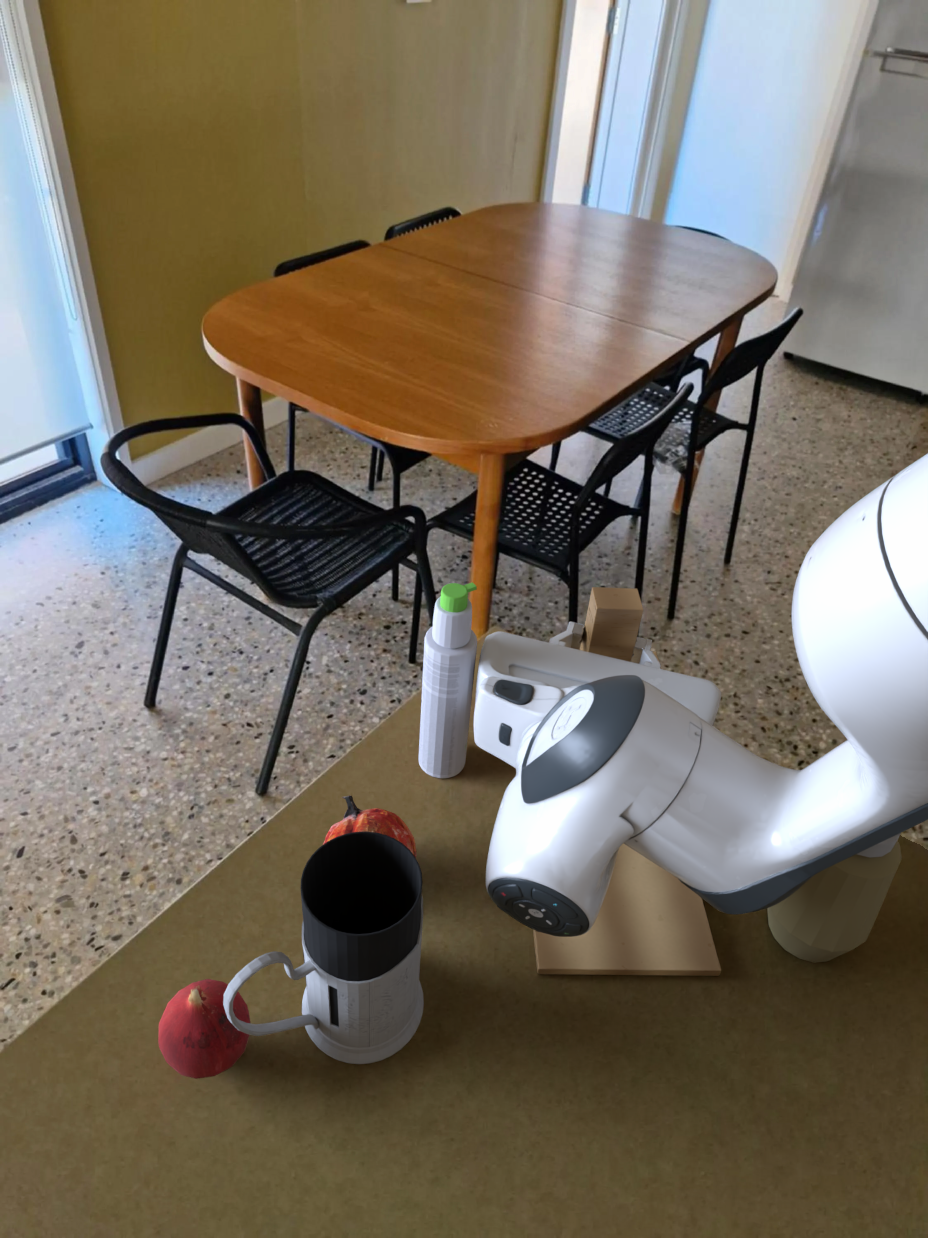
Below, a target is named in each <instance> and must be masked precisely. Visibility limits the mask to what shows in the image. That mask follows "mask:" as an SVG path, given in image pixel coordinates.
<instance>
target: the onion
mask: <svg viewBox="0 0 928 1238" xmlns="http://www.w3.org/2000/svg"><path fill="white" fill-rule="evenodd" d="M228 984H229V983H226V982H224V981H221V980H216V979H211V978H204V979H201V980H198V981H197V980H196V981H193V982H191V983H190V984H188V985H186V986H185V987H183V988H181V989H180V990H178V991H177V992H176V993H175V994H174V995H173V996H172V998H171V999H170V1000H169V1001H168V1002H167V1004H166V1006H165V1008H164V1010H163V1013H162V1015H161V1018H160V1020H159V1022H158V1038H157V1039H158V1041H157V1043H158V1048H159V1051H160V1052H161V1054H162V1056H163V1058H164V1061H165V1063H166V1064H168V1065H169V1066H170V1067H171V1068H172V1069H173V1070H174V1071H175V1072H177V1073H178V1074H179V1075H180V1076H183V1077H188V1078H191V1079H196V1080H198V1079H205V1078H213V1077H216V1076H217V1075H219V1074H221V1073H223V1072H225V1071H227V1070H229V1069H230V1068H232V1067H233V1066H234V1065H235V1064H236V1062H237V1061H238V1060H239V1059H240V1058H241V1057H242V1055H243V1054H244V1053H245V1052H246V1048H247V1045H248V1042H249V1038H250V1035H249V1034H246V1033H244V1032H241V1031H239V1030H238V1029H237V1028H236V1027H235V1026H234V1025H233V1024H232V1023H231V1022H230V1021H229V1019H228V1018H227V1015H226V1012H225V1009H224V1005H223V1001H224V993H225V991H226V989H227V986H228ZM233 1012H234V1014H235V1017H236V1018H238V1019H239V1020H241V1021H243V1022H246V1023H251V1024H252V1022H251V1017H250V1011H249V1007H248V1004H247V1003H246V1001H245V1000H244V998H243V997H242V995H241V993H240V992H239V990H238V991H237V993H236V996H235V998H234V1000H233Z"/></svg>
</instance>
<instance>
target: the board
mask: <svg viewBox="0 0 928 1238" xmlns="http://www.w3.org/2000/svg"><path fill="white" fill-rule="evenodd" d="M532 933H533V944H534V945H533V946H534V953H535V954H534V955H535V964H536V965H535V967H536V973H537V975H582V976H583V975H588V976H589V975H590V976H591V975H594V976H595V975H597V976H599V975H600V976H601V975H602V976H691V977H692V976H693V977H694V976H697V977H698V976H700V977H701V976H702V977H703V976H705V977H709V976H710V977H712V976H714V977H718V976H720V975H721V972H722V967H721V964H720V960H719V956H718V953H717V949H716V945H715V942H714V938H713V934H712V931H711V926H710V923H709V919H708V916H707V911H706V908H705V905H704V899H702V898H701V897H700V896H698V895H697V894H696V893H695V892H693V891H692V890H691V889H689V888H688V887H687V886H685V885H684V884H683V883H681V881H680V880H679V879H678V878H676V877H675V876H673V875H672V874H670V873H669V872H667V871H665V870H664V869H662V868H661V867H659V866H658V865H656V864H655V863H653V862H651V861H650V860H648V859H647V858H645V857H644V856H642V855H641V854H639V853H637V852H636V851H634V850H633V849H631V848H630V847H628V846H627V845H625V844H622V845H621V846H620V847H619V850H618V854H617V858H616V862H615V866H614V870H613V873H612V877H611V880H610V883H609V886H608V889H607V893H606V895H605V898H604V901H603V904H602V906H601V909H600V911H599V914H598V916H597V918H596V920H595V922H594V924H593V926H592V927H591V929H590V930H589V931H588V932H587V933H585V934H583V935H579V936H573V937H558V936H552V935H549V934H545V933H542V932H537V931H535V930H533V929H532Z"/></svg>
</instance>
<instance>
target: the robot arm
mask: <svg viewBox="0 0 928 1238" xmlns="http://www.w3.org/2000/svg"><path fill="white" fill-rule="evenodd" d="M791 600H792V601H791V628H792V637H793V643H794V649H795V652H796V657H797V660H798V663H799V667H800V670H801V672H802V675H803V677H804V679H805V681H806V684H807V686H808V689H809V690H810V692H811V695H812V696H813V699H814V700H815V701H816V703H817V705H818V706H819V707H820V708H821V710H822V711H823V712H824V713H825V715H826V716H827V718H828V719H829V720H830V721H831V722H832V723H833V725H835V727H836V728H837V729H838V730H839V731H840V732H841V734H842V735H843V736H844V737H845V738H846V740H845V741H844V742H842V743H841V744H839V745H838V746H836V747H834V748H833V749H831V750H829V751H828V752H827V753H825V754H823V755H822V756H820V757H819V758H817V759H816V760H815V761H813V762H811V763H809V764H808V765H807V766H805V767H804V768H803V769H794V768H789V767H786V766H783V765H780V764H778V763H774V762H772V761H770V760H767V759H765V758H763V757H761V756H759V754H756V753H754V752H752V751H751V750H749V749H748V748H746V747H745V746H743V745H742V744H740V743H739V742H737V740H735V739H733V738H732V737H730V736H729V735H727V734H726V733H724V732H723V731H721V730H719V728H716V726H714V725H715V722H716V719H717V715H718V712H719V708H720V705H721V700H722V691H721V689H720V688H719V687H718V686H717V685H716V683H714V682H713V681H712V680H709V679H705V678H701V677H697V676H693V675H688V674H683V673H680V672H675V671H671V670H668V669H663V668H662V666H661V665H662V664H661V662H660V660H659V661H658V660H657V658H656V657H655V655H654V654H653V652H652V651H653V650H652V644H653V639H649V638H643V637H639V636H637V639H636V643H635V646H634V648H633V655H632V657H631V661H630V662H629V661H625V660H620V659H616V658H612V657H608V656H603V655H599V654H595V653H591V652H586V651H582V650H580V648H581V642H582V640H583V635H584V634H583V633H584V629H585V624H582V623H579V622H575V621H571V620H570V621H569V622H568V624H567V627H566V630H564V631H562V632H560V633H558V634H557V635H555V636H552V637H550V639H549V642H548V641H544V640H540V639H535V638H530V637H527V636H524V635H523V636H521V635H518V634H514V633H509V632H507V631H501V630H499V631H495V632H492V633H490V634H488V635H487V636H485V638H484V640H483V642H482V646H481V649H480V652H479V659H478V667H477V668H478V669H477V674H476V675H477V676H476V684H475V698H474V710H473V711H474V712H473V739H474V740H473V741H474V743H475V745H476V746H477V747H478V748H480V749H482V750H483V751H485V752H487V753H488V754H491V755H492V756H494V757H496V758H498V760H501V761H503V762H505V764H508V765H510V766H511V767H513V768H514V769H515V775H514V777H513V778H512V780H510V782H509V784H508V785H507V786H506V788H505V791H504V793H503V796H502V799H501V801H500V805H499V808H498V811H497V815H496V818H495V821H494V825H493V829H492V834H491V838H490V842H489V848H488V854H487V859H486V865H485V866H486V868H485V888H486V892H487V895H488V896H489V898H490V900H491V901H492V902H493V903H494V904H495V906H496V907H497V908H498V909H499V910H501V911H502V912H503V913H505V914H507V915H508V916H509V917H510V918H513V919H514V920H515V921H517V922H519V923H520V924H522V925H524V926H526V927H528V928H529V929H531V930H532V931H533V930H535V931H537V932H542V933H545V934H549V935H552V936H558V937H573V936H579V935H583V934H585V933H587V932H588V931H589V930H590V929H591V927H592V926H593V924H594V922H595V920H596V918H597V916H598V914H599V911H600V909H601V906H602V904H603V901H604V898H605V895H606V893H607V889H608V886H609V883H610V880H611V877H612V873H613V870H614V866H615V862H616V858H617V854H618V850H619V847H620V846H621V845H622V844H625V845H627V846H628V847H630V848H631V849H633V850H634V851H636V852H637V853H639V854H641V855H642V856H644V857H645V858H647V859H648V860H650V861H651V862H653V863H655V864H656V865H658V866H659V867H661V868H662V869H664V870H665V871H667V872H669V873H670V874H672V875H673V876H675V877H676V878H678V879H679V880H680V881H681V883H683V884H684V885H685V886H687V887H688V888H689V889H691V890H692V891H693V892H695V893H696V894H697V895H698V896H700V897H701V898H702V900H703V901H704V902H706V903H707V904H709V905H710V906H711V907H713V909H715V910H716V911H718V912H721V913H722V914H723V913H724V914H727V915H735V916H736V915H744V914H750V913H757V912H760V911H763V910H766V909H768V908H769V907H771V906H774V905H776V904H778V903H780V902H781V901H783V900H784V899H786V898H787V897H789V896H790V895H792V894H793V893H794V892H795V891H796V890H798V889H799V888H800V887H801V886H802V885H803V884H804V883H806V882H807V881H808V880H809V879H810V878H811V877H813V876H814V875H815V874H817V873H819V872H821V871H823V870H824V869H826V868H828V867H831V866H833V865H835V864H837V863H839V862H841V861H843V860H845V859H847V858H849V857H851V856H853V855H856V854H858V853H860V852H862V851H864V850H866V849H868V848H870V847H872V846H874V845H876V844H879V843H881V842H883V841H885V840H887V839H889V838H891V837H893V836H895V835H897V834H899V833H901V834H902V833H903V832H906V831H908V830H909V829H912V828H914V827H916V826H918V825H920V824H923V822H926V821H928V452H927V453H926V454H925V455H923V456H921V457H920V458H918V459H917V460H915V461H914V462H912V463H911V464H909V465H908V466H906V467H905V468H903V469H902V470H901V471H899V472H898V473H896V474H894V475H893V476H892V477H890V478H889V479H887V480H885V482H883V483H882V484H880V485H879V486H877V487H876V488H874V489H872V491H870V492H869V493H867V494H866V495H864V496H863V497H862V498H861V499H859V500H858V501H856V502H855V503H853V505H851V506H850V507H849V508H847V509H846V510H845V511H844V512H842V514H841V515H839V517H837V518H836V519H835V520H834V521H833V522H832V523H831V524H830V525H829V526H827V527H826V529H825V530H824V531H823V532H822V533H821V535H820V536H819V537H817V539H816V540H815V541H814V542H813V544H812V545H811V546H810V548H808V550H807V552H806V554H805V556H804V558H803V561H802V563H801V565H800V568H799V571H798V574H797V576H796V580H795V582H794V588H793V591H792V599H791ZM660 667H661V669H660Z"/></svg>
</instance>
